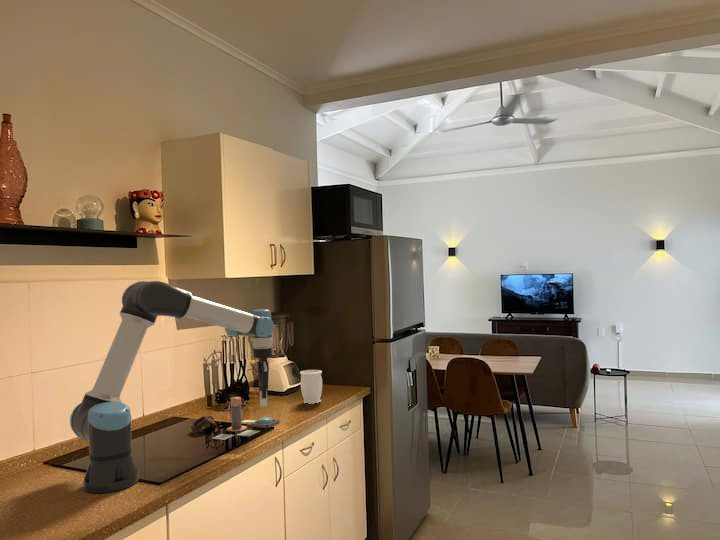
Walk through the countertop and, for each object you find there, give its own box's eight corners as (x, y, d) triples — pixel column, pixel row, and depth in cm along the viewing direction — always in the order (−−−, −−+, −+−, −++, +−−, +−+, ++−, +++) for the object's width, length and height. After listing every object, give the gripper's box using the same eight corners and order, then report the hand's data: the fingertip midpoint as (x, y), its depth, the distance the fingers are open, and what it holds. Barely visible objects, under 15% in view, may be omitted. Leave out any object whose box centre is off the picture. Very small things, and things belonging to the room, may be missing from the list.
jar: (297, 404, 256) (296, 372, 256) (307, 399, 265) (306, 369, 265) (316, 405, 251) (315, 373, 252) (326, 400, 261) (325, 369, 261)
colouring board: (238, 447, 192) (237, 440, 192) (198, 443, 199) (198, 436, 199) (281, 425, 218) (281, 419, 218) (245, 422, 226) (245, 416, 226)
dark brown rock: (217, 438, 206) (205, 422, 204) (196, 449, 207) (185, 432, 205) (224, 422, 217) (213, 406, 216) (205, 432, 218) (194, 416, 217)
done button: (267, 426, 212) (267, 421, 212) (254, 425, 215) (254, 420, 215) (275, 422, 218) (275, 417, 218) (263, 421, 220) (263, 416, 220)
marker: (240, 429, 210) (239, 399, 210) (230, 429, 210) (229, 399, 210) (243, 426, 214) (242, 396, 214) (233, 427, 214) (232, 397, 214)
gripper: (275, 348, 212) (276, 408, 211) (268, 345, 224) (269, 402, 223) (256, 349, 209) (257, 410, 209) (250, 346, 221) (251, 403, 221)
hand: (263, 406), depth 216 cm, fingers closed
